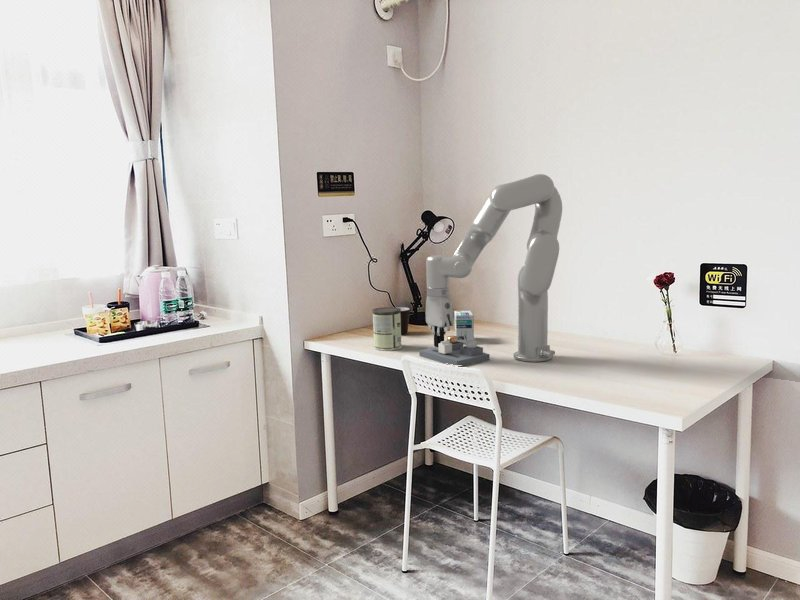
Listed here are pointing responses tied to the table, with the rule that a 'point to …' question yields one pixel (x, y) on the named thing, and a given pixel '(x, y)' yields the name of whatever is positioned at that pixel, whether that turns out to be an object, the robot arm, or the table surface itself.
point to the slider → (445, 347)
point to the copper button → (452, 339)
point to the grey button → (471, 344)
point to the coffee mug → (404, 319)
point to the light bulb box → (464, 326)
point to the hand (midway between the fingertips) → (439, 346)
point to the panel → (456, 355)
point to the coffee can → (387, 328)
